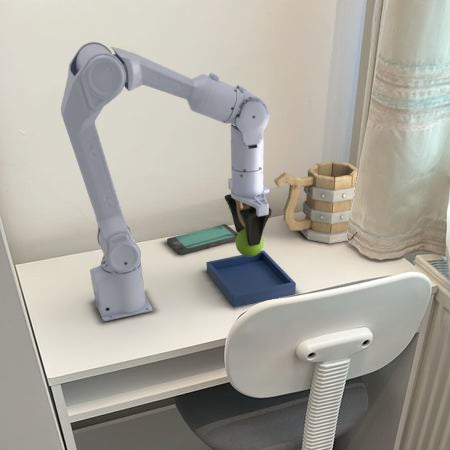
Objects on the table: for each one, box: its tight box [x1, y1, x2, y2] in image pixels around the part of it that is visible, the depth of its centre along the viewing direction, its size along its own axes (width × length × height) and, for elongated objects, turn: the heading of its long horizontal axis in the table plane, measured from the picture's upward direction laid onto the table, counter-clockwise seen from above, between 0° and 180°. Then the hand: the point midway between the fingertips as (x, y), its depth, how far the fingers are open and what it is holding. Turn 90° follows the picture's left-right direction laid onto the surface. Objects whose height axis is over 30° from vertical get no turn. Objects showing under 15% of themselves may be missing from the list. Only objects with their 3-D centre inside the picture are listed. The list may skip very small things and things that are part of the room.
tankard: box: [274, 160, 359, 245], centre depth 139 cm, size 20×13×15 cm, turn 108°
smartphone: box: [166, 223, 238, 256], centre depth 142 cm, size 7×1×15 cm
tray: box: [205, 249, 297, 308], centre depth 127 cm, size 15×13×2 cm
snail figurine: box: [235, 200, 265, 257], centre depth 120 cm, size 5×6×12 cm
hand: (247, 238), depth 121 cm, fingers closed on snail figurine, 5 cm apart
